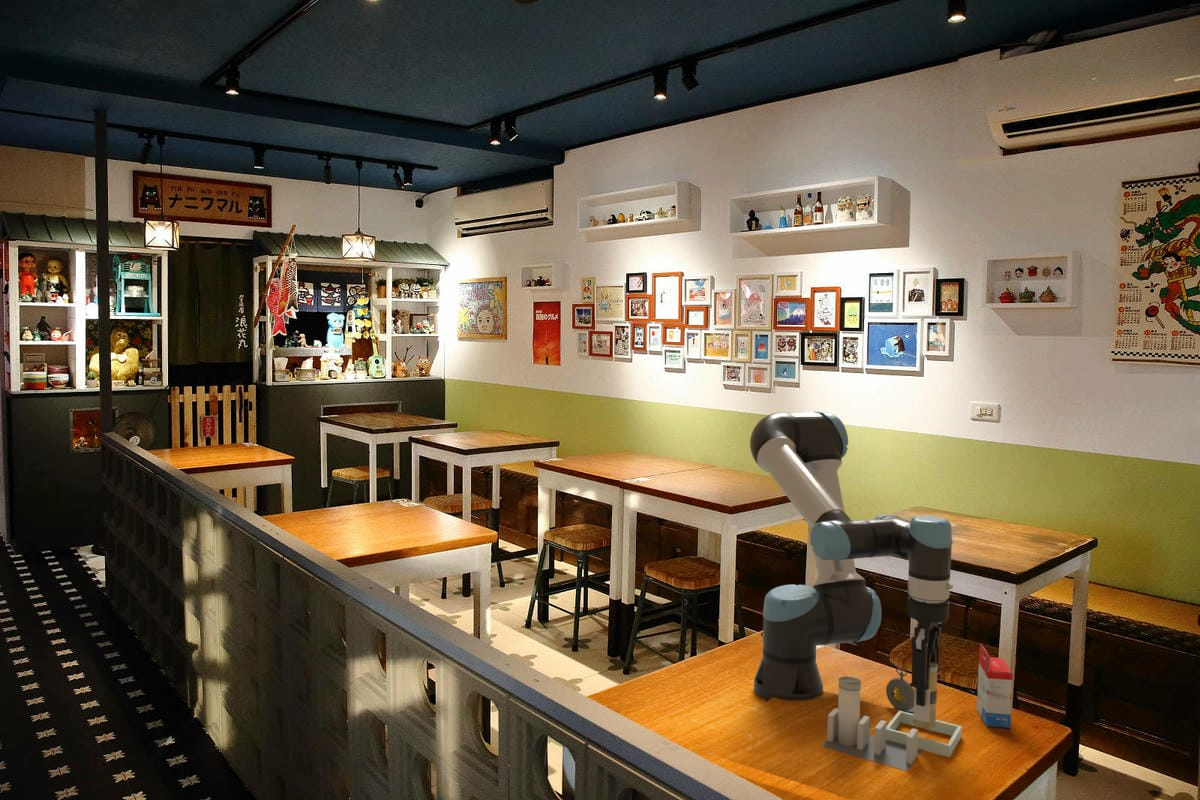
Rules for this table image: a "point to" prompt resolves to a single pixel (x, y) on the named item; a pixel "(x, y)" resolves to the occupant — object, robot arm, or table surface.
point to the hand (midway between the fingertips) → (924, 715)
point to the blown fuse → (931, 698)
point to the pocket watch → (901, 694)
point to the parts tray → (924, 742)
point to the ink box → (994, 690)
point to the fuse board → (874, 744)
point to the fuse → (848, 710)
